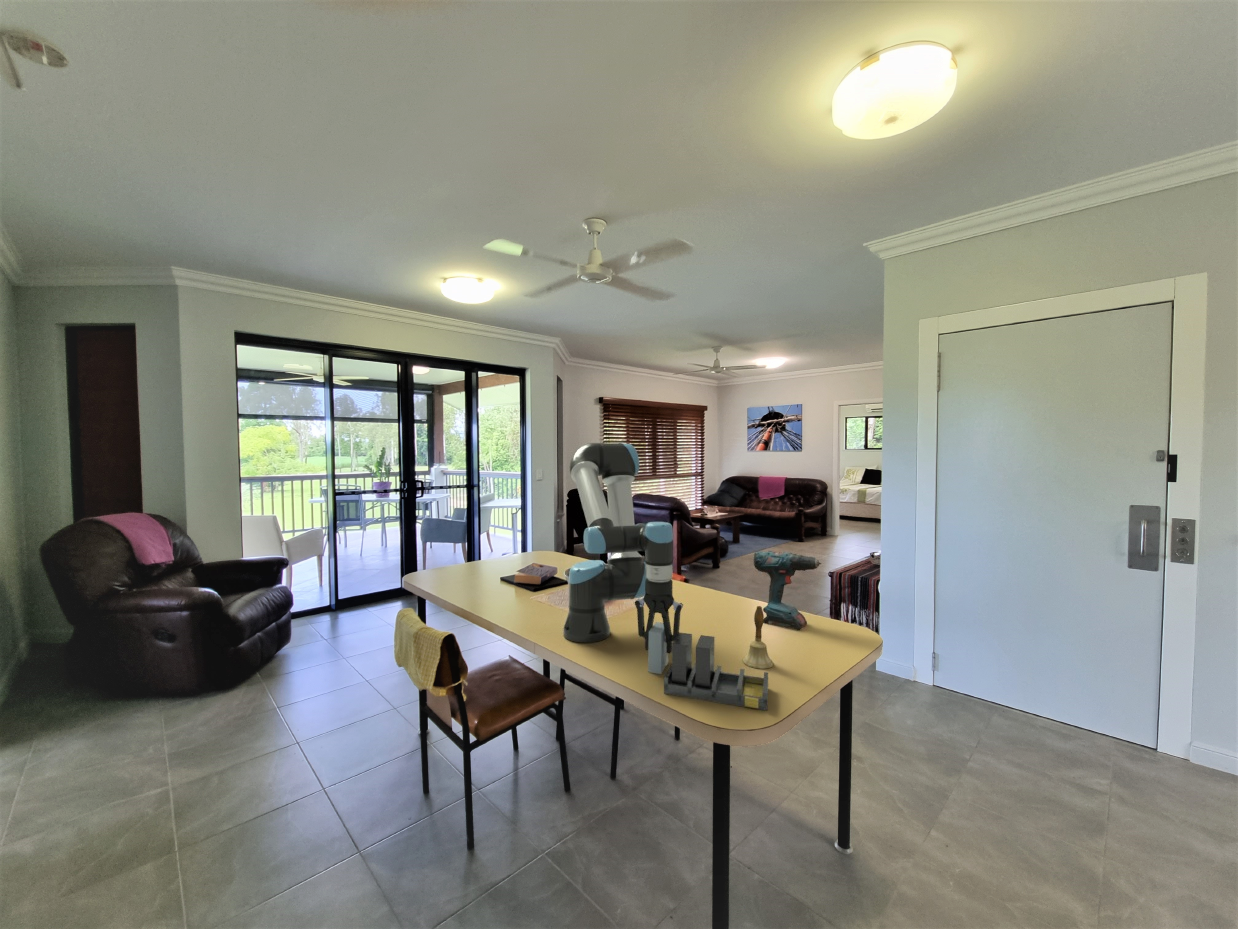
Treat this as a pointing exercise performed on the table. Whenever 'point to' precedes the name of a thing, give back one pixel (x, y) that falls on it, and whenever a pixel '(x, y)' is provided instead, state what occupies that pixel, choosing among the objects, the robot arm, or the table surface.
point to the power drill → (782, 585)
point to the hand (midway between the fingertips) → (658, 663)
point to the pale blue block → (656, 648)
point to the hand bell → (758, 646)
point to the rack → (711, 677)
